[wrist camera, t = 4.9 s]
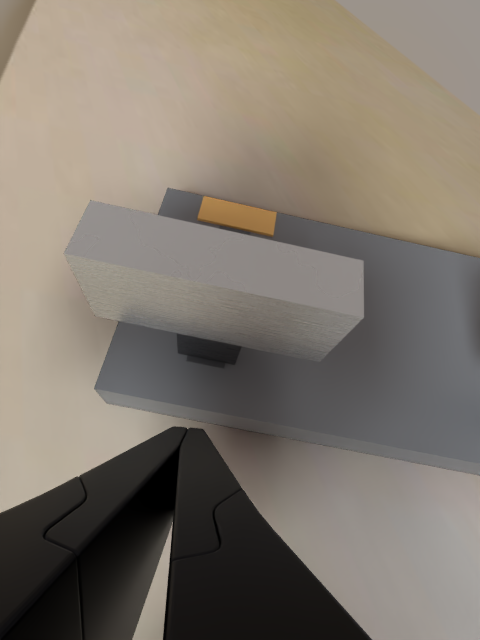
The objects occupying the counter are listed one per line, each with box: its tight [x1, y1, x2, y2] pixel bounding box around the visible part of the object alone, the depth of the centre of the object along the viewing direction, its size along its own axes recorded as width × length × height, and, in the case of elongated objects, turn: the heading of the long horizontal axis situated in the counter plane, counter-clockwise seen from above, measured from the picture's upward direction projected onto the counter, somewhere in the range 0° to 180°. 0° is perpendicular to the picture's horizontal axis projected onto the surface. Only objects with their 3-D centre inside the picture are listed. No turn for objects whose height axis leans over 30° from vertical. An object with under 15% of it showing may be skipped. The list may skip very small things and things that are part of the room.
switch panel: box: [94, 188, 480, 475], centre depth 22 cm, size 14×30×3 cm, turn 81°
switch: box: [64, 200, 364, 365], centre depth 15 cm, size 2×10×7 cm, turn 81°
